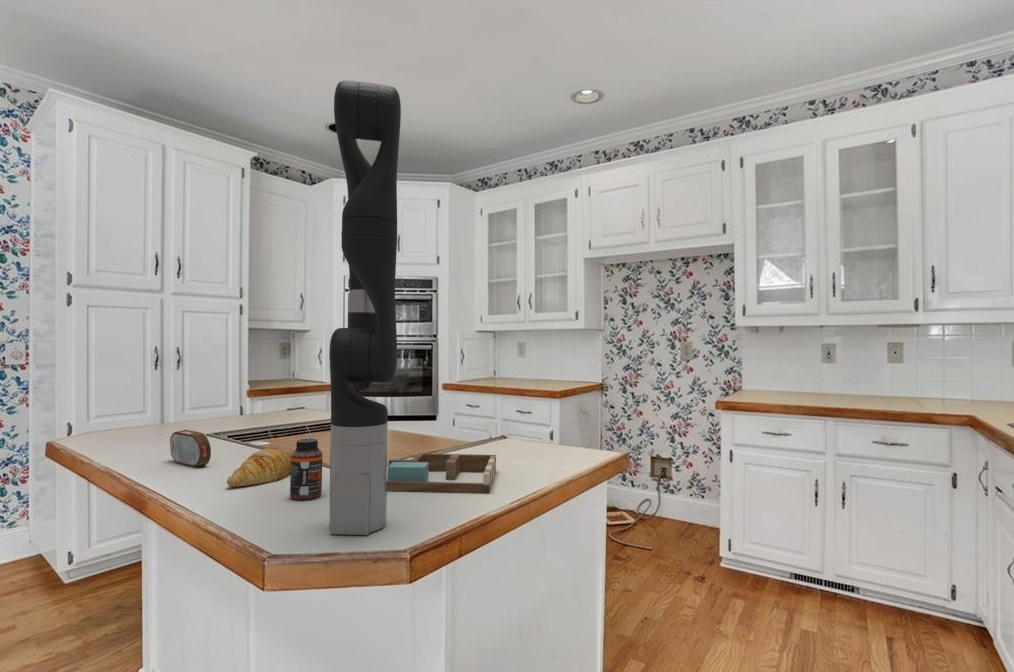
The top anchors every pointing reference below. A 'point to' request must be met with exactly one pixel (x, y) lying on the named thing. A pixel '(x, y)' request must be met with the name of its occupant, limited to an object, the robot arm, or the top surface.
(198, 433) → the tin
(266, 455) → the croissant
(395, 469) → the block
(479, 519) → the top surface
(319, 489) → the supplement bottle
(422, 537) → the top surface
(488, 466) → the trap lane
